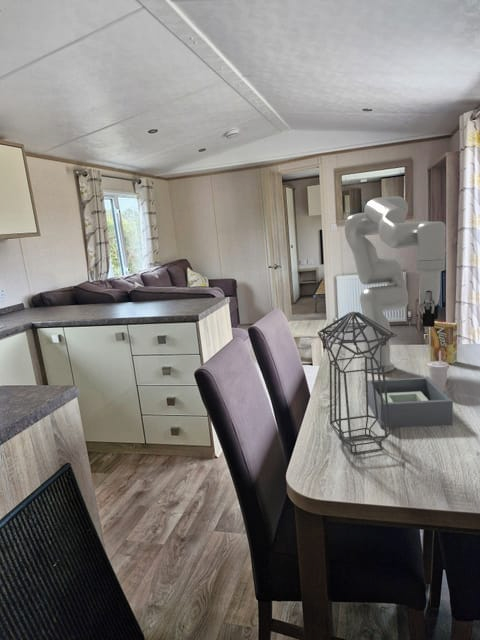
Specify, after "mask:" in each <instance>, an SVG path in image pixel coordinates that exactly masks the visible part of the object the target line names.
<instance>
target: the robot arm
mask: <svg viewBox="0 0 480 640" xmlns="http://www.w3.org/2000/svg"><path fill="white" fill-rule="evenodd" d="M408 211H409V205H408V203H407V201H406V199H405V198H404V197H403V196H396V195H394V196H384V197H375V198H372V199H370V200H369V201H368V202H367V203H366V204H365V206H364V211H363V212H359V213H355V214H351V215H349V216H348V217H347V218H346V219H345V222H344V235H345V236H344V237H345V239H346V242H347V244H348V245H349V248H350V249H351V252H352V254H353V258H354V259H353V260H354V264H355V268H356V271H357V276H358V279H359V281H360V283H361V285H364V286H371V285H373V287H372V286H371V287H367V288H365V289H363V290H362V291H361V293H360V296H359V302H360V307H361V314H362V315H364V316H366V317H367V318H369V319H371V320H372V321H374V322H376V323H377V324H379V325H381V326H382V327H384V328H386V329H387V330H389V331H391V328H390V327H391V325H390V321H389V319H388V318H387V316H385V313H386V312H390V311H399V310H403V309H405V308H406V307H407V306H408V304H409V292H408V288H407V284H406V281H405V277H404V273H403V268H402V266H401V264H400V263H399V261H398V260H397V259H396V258H392V257H385V258H384V257H383V258H379V256H378V253H377V248H376V247H375V244H374V243H372V242H371V241H370V240H369V239H368V238H367V237H366V236H373V235H379V238H380V239H381V242H383V243H384V244H385V245H386V246H388V247H390V248H393V249H396V250H397V249H409V248H416V271H417V272H420V274H419V276H420V277H419V288H418V290H419V291H418V294H419V295H418V305H419V306H423V309H422V327H425V328H426V327H428V328H430V327H434V326H435V321H436V320H438V319H439V317H438V316H439V306H438V303H439V300H440V294H441V278H442V277H441V275H442V274H441V273H442V272H443V271H445V270H446V243H447V242H446V234H447V230H446V229H447V228H446V227H447V226H446V223H445V222H443V221H430V220H428V221H427V220H421V221H408V222H405V221H406V217H407V215H408V213H409V212H408ZM381 284H383V285H381ZM385 284H387V285H385ZM374 285H379V286H374ZM384 312H385V313H384ZM364 318H365V317H364ZM367 318H366V319H367ZM367 320H368V319H367ZM369 321H370V320H369ZM372 321H371V322H372ZM362 323H363V325H366V324H367V323H366V322H365V323H366V324H365V323H364V322H363V321H362ZM372 323H373V322H372ZM374 324H375V323H374ZM377 324H375V325H377ZM363 325H362V326H363ZM367 325H368V324H367ZM377 326H378V325H377ZM378 327H380V326H378ZM380 328H381V327H380ZM381 329H383V328H381ZM383 330H384V331H386V330H385V329H383ZM363 332H364V334H365V336H366V338H367V340H368V341H370V340H374V339H377V338H376V336H375V333H374V331H373V328H372V327H371V326H367V327H366V328H365V329H364V330H363ZM376 332H377V331H376ZM386 332H387V333H390V332H388V331H386ZM377 335H378V338H381V336H382V335H380V334H379V332H377ZM383 337H385V336H383ZM363 340H365V339H364V338H363ZM380 341H381V340H380ZM382 341H383V340H382ZM376 344H378V341H375V342H371V343H369V345H370V348H372V347H373V346H375V345H376ZM380 346H381V345H379V347H378V349H377V351H376V353H375V355H374V357H375V359H376V360H378V361H379V362H380ZM363 348H364V350H363V351H367V350H369V349H368V344H367V343H366V342H363ZM375 349H376V348H375ZM375 349H373V350H372V351H371V352H372V354H373V353H374V351H375ZM364 355H365V356H368V357H372V356H371V354H370V353H365V354H364ZM363 359H364V362H362V363H361V364H360V370H363V369H365V357H363ZM372 362H373V368H378V366H377V365H376V363H375V361H374V359H372ZM381 363H382V364H384V365H385V367H384V372H385V374H387V373H390V372H393V371H394V370H395V369H396V367H395V366H396V365H395V364H394V363H393V362H391V338H390V339H389V340H388V341H387V342H386V346H385V344H384V346H382V353H381ZM378 364H379V366H380V363H378ZM381 366H383V365H381ZM367 369H371V361H370V359H368V358H367ZM373 371H374V374H375V373H376V374H378V373H377V370H373ZM379 371H380V374H382V368H381V369H379ZM367 373H371V374H372V372H371V370H368V371H367Z"/></svg>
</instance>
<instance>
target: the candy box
mask: <svg viewBox="0 0 480 640" xmlns="http://www.w3.org/2000/svg"><path fill="white" fill-rule="evenodd" d="M429 346H430V349H429V355H430V356H429V361H430V362H431V361H439V351H441V361H443V362H446V363H448V364H450V363H451V364H450V365H454V364H455V363H456V362H457V361H458V323H457V322H447V321H436V320H435V326H434V327H429Z"/></svg>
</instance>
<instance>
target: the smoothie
mask: <svg viewBox="0 0 480 640" xmlns="http://www.w3.org/2000/svg"><path fill="white" fill-rule="evenodd" d="M427 368H428V374H429V376H428V377H429V378H430V379H431V380H432V381H433V382H434V383H435V384H436V385H437V386H438V387H439V388H440V389H441V390H442V391H443V392H444V393H445V391H446V389H445V388H446V384H447V376H448V371H449V369H450V363H446V362H443V361H441V351H439V361H431V360H430V361H427Z"/></svg>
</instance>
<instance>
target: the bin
mask: <svg viewBox="0 0 480 640" xmlns="http://www.w3.org/2000/svg"><path fill="white" fill-rule="evenodd" d="M374 381H375V390H376V400H377V410H378V418H379V419H380V420H381V421H382V422H383V414H382V406H381V398H380V389H379V381H378V379H374ZM385 381H386V390H387V399H388V408H389V417H390V425H391V429H396V428H418V427H421V428H422V427H423V428H424V427H439V426H441V427H442V426H453V412H454V411H453V410H454V407H453V406H454V405H453V403H454V401H453V400H452V398H450V397H449V395H447V394H446V393H445V391H444V392H443V391H442V390H441V389H440V388H439V387H438V386H437V385H436V384H435V383H434V382H433V381H432V380H431V379H430V376H428V377H426V376H425V377H411V378H409V377H408V378H396V379H395V378H393V379H392V378H390V379H385ZM381 387H382V395H383V403H384V412H385V420H386V426H387V427H388V419H387V410H386V401H385V392H384V384H383V379H381ZM368 408H369V409H370V410H371V413H372V414H373V416H375V417H376V410H375V401H374V391H373V382H372V379H371V380H369V379H368ZM376 422H377V424H378V425H379V427H380V429H384V426H383V425H382V424H381V423H380V422H379V421H378V420H377V421H376ZM383 423H384V422H383ZM388 428H389V427H388Z"/></svg>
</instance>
